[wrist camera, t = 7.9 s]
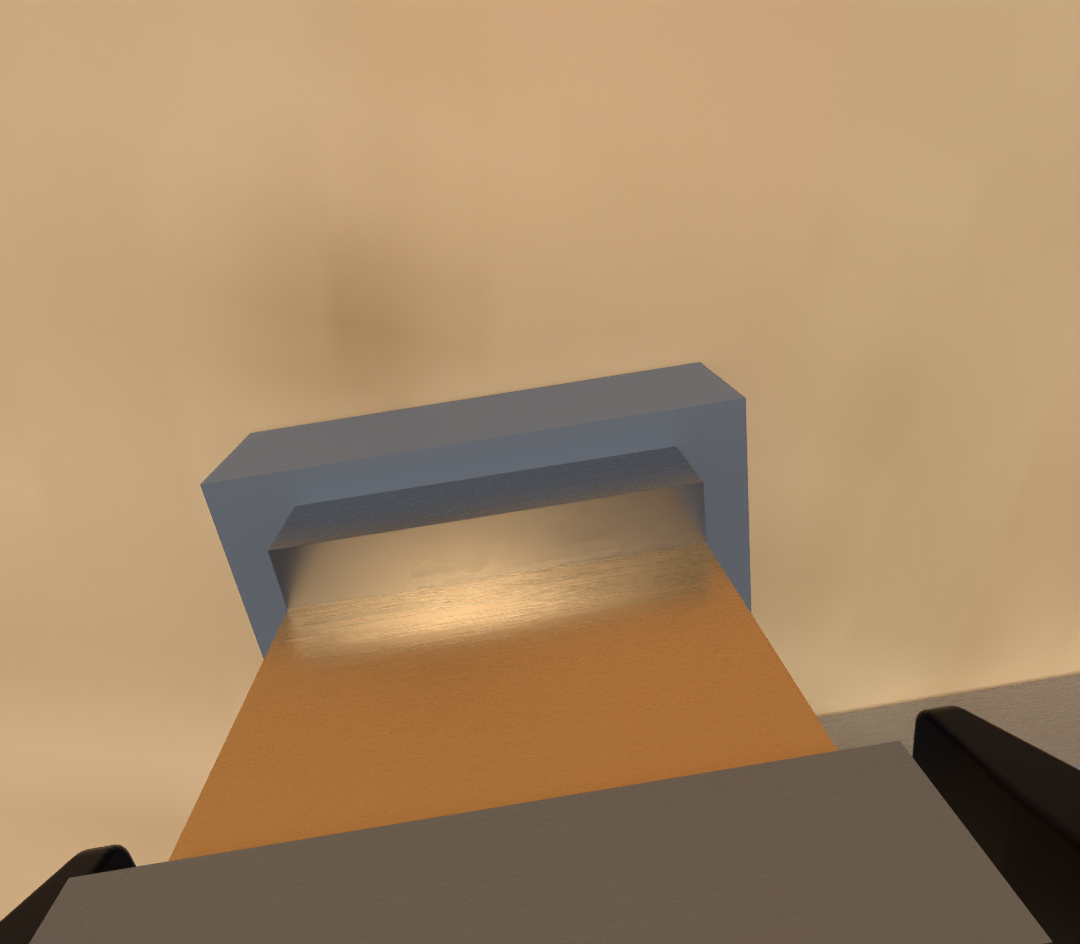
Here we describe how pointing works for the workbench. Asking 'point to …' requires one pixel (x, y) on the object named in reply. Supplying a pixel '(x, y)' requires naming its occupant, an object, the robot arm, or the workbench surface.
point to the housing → (540, 749)
